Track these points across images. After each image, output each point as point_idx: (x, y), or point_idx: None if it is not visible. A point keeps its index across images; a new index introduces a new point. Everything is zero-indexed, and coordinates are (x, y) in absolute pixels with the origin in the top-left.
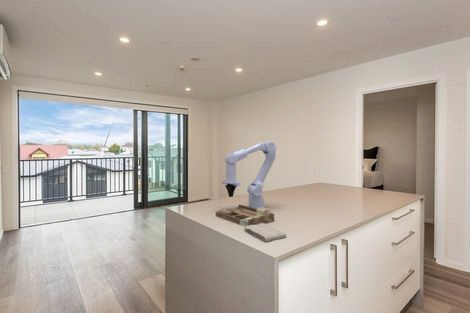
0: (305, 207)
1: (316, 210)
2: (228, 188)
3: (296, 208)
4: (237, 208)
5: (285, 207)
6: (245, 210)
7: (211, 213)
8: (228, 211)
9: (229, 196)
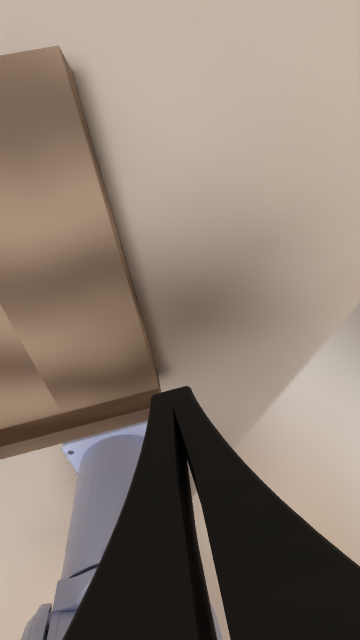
0: None
1: (4, 635)
2: (179, 580)
3: None
4: (114, 367)
5: None
6: (9, 399)
7: (213, 87)
8: (14, 234)
9: (170, 394)
